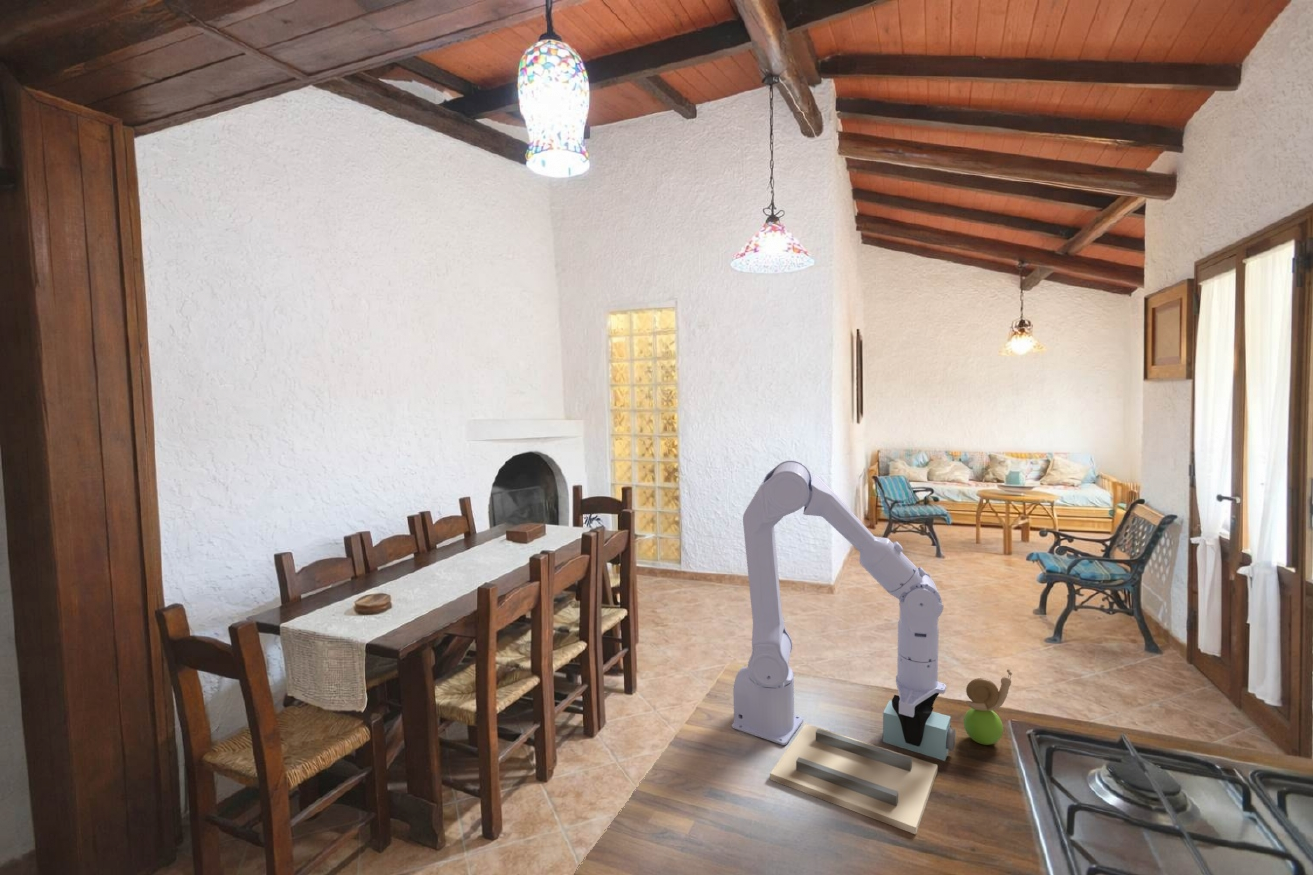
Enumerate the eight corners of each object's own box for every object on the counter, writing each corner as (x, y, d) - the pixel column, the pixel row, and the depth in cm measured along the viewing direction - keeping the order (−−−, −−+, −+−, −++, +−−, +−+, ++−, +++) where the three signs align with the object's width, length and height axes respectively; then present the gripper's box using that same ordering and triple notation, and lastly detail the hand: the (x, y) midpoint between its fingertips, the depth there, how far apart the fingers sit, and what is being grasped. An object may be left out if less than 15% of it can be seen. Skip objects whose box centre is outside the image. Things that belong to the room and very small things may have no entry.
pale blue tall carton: (882, 741, 98) (883, 712, 98) (889, 728, 102) (889, 699, 101) (950, 762, 93) (951, 731, 92) (955, 747, 96) (956, 717, 95)
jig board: (770, 779, 91) (769, 763, 91) (805, 729, 102) (805, 714, 102) (915, 834, 80) (916, 816, 79) (937, 771, 91) (937, 755, 91)
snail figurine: (1014, 754, 94) (1018, 679, 92) (968, 750, 95) (971, 677, 94) (1002, 732, 99) (1005, 661, 98) (958, 729, 101) (961, 659, 99)
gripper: (936, 682, 87) (934, 771, 89) (954, 639, 99) (952, 719, 101) (884, 669, 91) (883, 754, 93) (907, 630, 103) (906, 706, 105)
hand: (916, 735), depth 97 cm, fingers closed on pale blue tall carton, 4 cm apart
